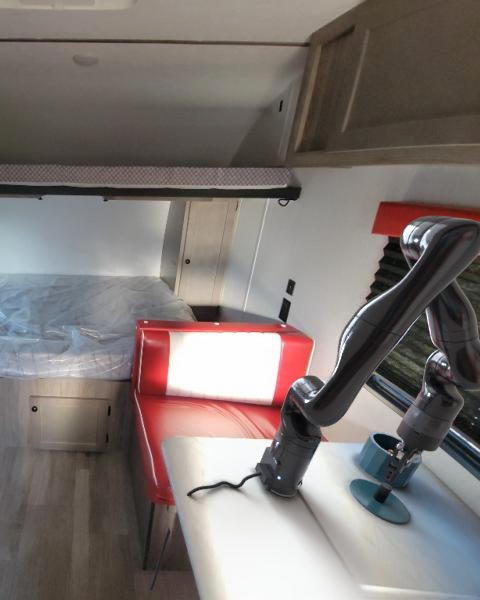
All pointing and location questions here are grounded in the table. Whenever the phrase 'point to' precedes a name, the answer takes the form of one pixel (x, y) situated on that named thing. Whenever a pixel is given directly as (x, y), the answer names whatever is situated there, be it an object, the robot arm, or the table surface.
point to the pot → (383, 458)
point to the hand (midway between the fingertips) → (394, 474)
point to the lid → (379, 500)
